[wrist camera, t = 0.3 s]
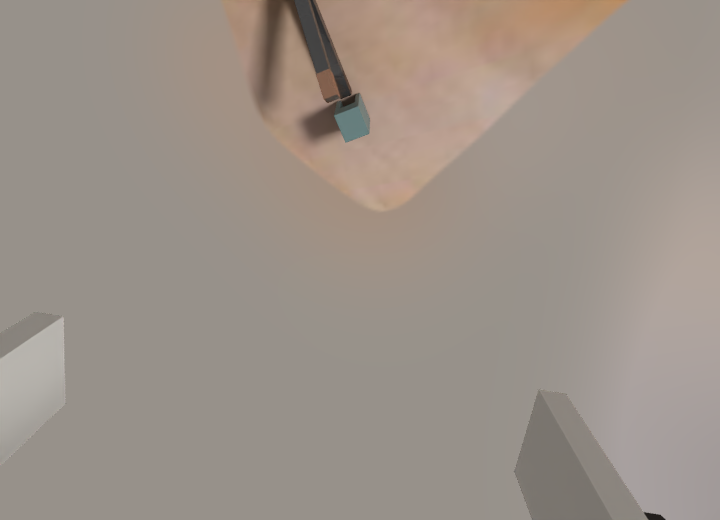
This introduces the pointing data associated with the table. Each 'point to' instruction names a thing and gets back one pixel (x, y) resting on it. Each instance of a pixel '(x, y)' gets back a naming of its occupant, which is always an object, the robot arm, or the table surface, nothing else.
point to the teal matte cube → (352, 119)
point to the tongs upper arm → (317, 50)
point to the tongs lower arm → (332, 55)
